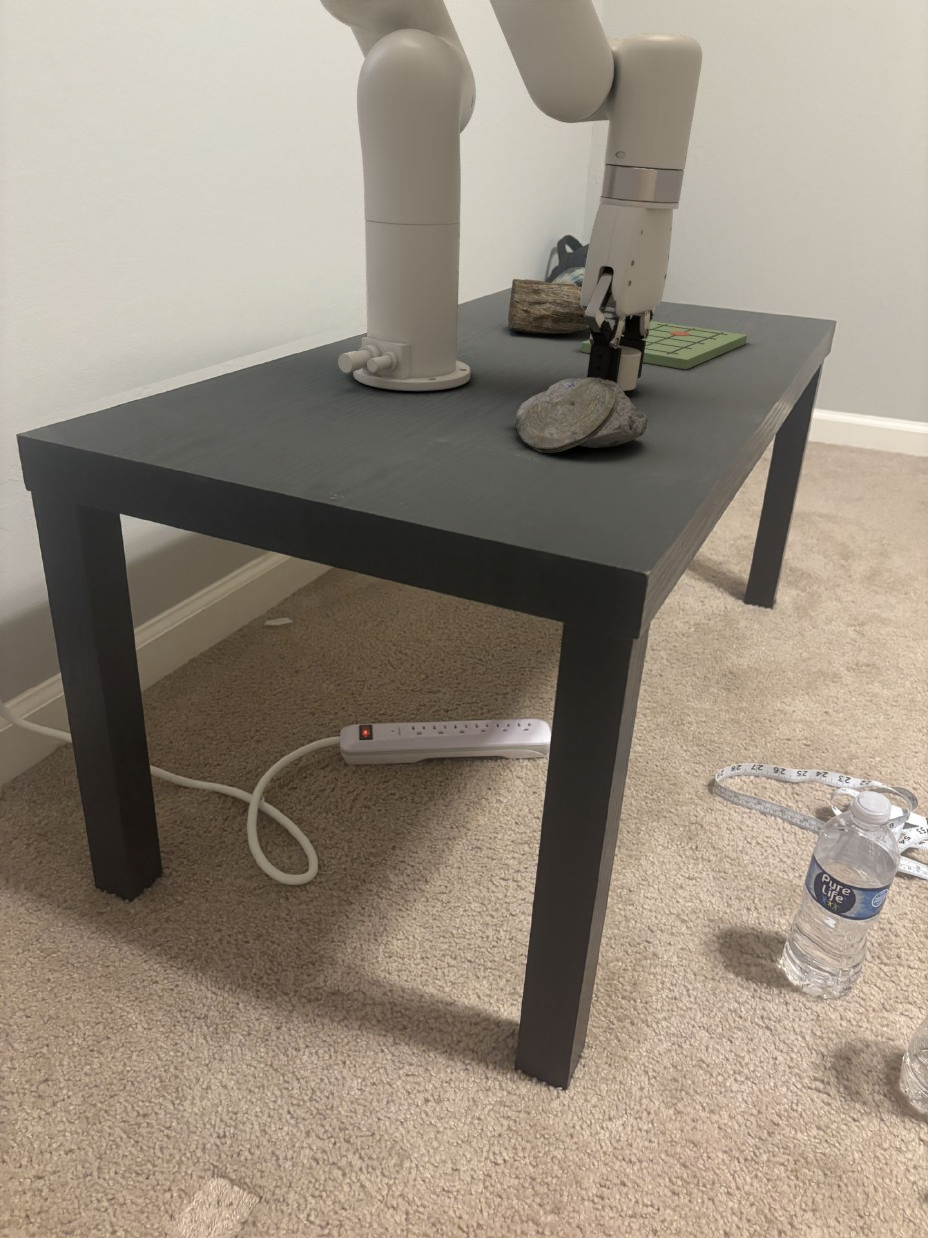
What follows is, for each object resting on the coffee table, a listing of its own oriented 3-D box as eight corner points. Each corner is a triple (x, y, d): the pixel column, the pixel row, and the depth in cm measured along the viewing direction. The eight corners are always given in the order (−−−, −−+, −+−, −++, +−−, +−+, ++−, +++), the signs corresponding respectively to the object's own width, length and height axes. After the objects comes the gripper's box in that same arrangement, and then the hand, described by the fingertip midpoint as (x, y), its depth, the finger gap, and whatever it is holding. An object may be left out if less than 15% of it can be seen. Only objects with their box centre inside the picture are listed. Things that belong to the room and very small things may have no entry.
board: (686, 369, 105) (687, 358, 105) (580, 351, 112) (581, 341, 112) (745, 343, 120) (747, 334, 119) (649, 329, 127) (650, 319, 126)
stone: (608, 299, 127) (606, 248, 118) (605, 361, 124) (603, 313, 114) (513, 302, 130) (504, 253, 120) (508, 363, 126) (498, 317, 117)
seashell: (546, 316, 142) (620, 323, 138) (532, 301, 135) (610, 308, 131) (553, 275, 141) (628, 280, 137) (540, 258, 134) (619, 263, 130)
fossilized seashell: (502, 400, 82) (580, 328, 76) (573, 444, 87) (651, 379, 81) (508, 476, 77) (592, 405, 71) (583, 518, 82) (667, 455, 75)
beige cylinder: (623, 393, 92) (628, 357, 90) (582, 384, 94) (586, 348, 92) (643, 385, 95) (649, 350, 94) (603, 376, 98) (607, 342, 96)
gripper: (643, 184, 94) (617, 361, 102) (562, 185, 81) (541, 387, 90) (711, 191, 90) (679, 374, 99) (638, 193, 78) (608, 403, 86)
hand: (613, 378), depth 94 cm, fingers closed on beige cylinder, 4 cm apart
